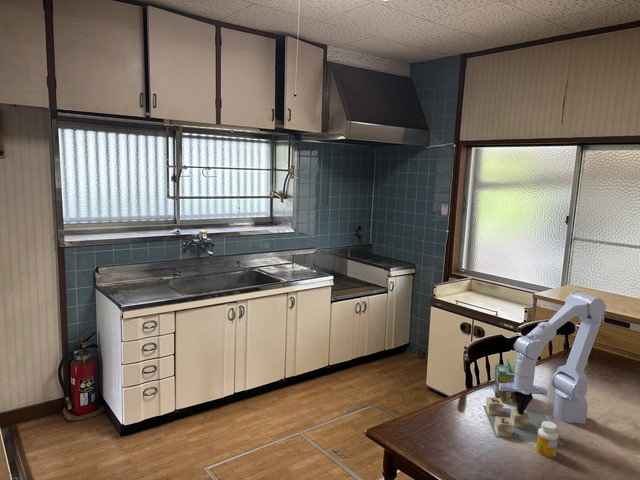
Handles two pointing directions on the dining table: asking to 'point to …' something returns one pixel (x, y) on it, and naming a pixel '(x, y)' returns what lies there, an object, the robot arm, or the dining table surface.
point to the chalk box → (504, 376)
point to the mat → (521, 433)
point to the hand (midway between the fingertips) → (519, 413)
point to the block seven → (503, 426)
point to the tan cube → (540, 426)
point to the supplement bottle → (547, 439)
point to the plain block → (519, 419)
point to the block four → (494, 406)
